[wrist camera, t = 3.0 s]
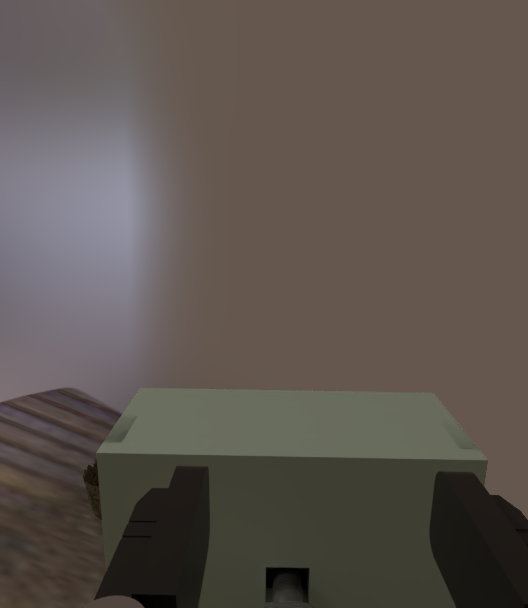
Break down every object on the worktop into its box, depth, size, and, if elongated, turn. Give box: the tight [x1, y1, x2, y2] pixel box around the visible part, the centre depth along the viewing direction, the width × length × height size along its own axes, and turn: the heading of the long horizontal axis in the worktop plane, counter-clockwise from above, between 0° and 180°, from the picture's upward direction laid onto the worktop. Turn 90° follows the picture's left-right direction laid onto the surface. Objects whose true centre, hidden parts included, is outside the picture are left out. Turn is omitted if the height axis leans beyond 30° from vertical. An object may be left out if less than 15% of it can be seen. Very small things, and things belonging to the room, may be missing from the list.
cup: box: [83, 459, 102, 520], centre depth 57 cm, size 8×7×8 cm
